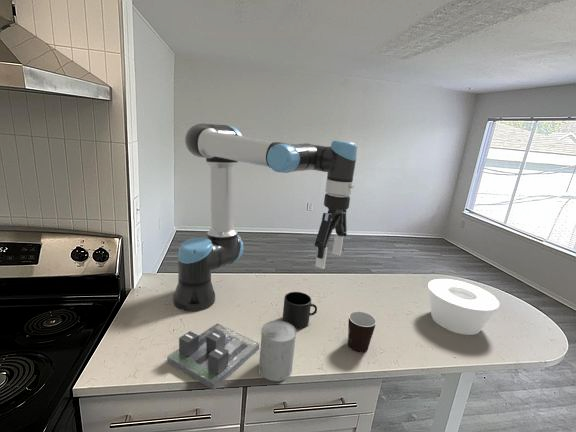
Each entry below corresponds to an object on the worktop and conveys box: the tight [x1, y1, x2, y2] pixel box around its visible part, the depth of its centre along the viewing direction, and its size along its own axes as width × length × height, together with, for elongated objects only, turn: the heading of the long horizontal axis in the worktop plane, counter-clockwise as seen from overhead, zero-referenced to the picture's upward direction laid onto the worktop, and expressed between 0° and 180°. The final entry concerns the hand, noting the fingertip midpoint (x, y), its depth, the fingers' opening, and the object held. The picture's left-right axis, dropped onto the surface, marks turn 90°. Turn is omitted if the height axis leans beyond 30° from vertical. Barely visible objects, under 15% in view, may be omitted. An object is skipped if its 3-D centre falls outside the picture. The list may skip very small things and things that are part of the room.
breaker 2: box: [206, 330, 226, 352], centre depth 94 cm, size 4×4×5 cm
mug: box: [281, 291, 318, 329], centre depth 115 cm, size 9×12×9 cm
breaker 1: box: [178, 331, 200, 357], centre depth 92 cm, size 4×4×5 cm
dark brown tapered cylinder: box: [347, 310, 377, 354], centre depth 105 cm, size 12×9×10 cm
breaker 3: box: [208, 346, 229, 374], centre depth 87 cm, size 4×4×5 cm
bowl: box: [427, 278, 500, 336], centre depth 124 cm, size 24×24×12 cm
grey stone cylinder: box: [258, 320, 297, 382], centre depth 91 cm, size 10×10×12 cm
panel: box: [166, 323, 261, 391], centre depth 95 cm, size 17×20×2 cm
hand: (328, 260), depth 103 cm, fingers open, 13 cm apart
